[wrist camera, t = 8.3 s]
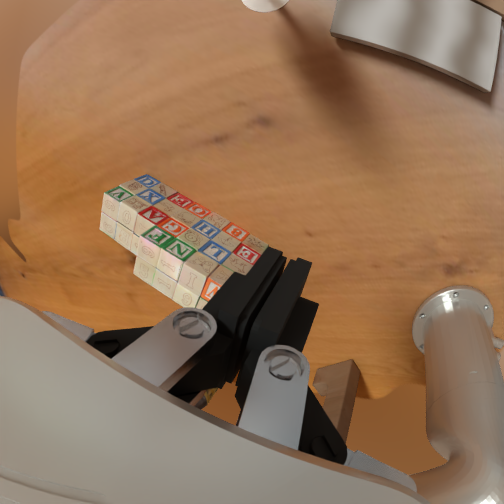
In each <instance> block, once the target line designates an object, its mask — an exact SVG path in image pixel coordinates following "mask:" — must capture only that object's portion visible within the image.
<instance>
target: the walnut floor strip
mask: <svg viewBox="0 0 504 504" xmlns="http://www.w3.org/2000/svg"><path fill="white" fill-rule="evenodd" d="M470 1H472V2H474V3H477V4H479V5H481V6H483V7H485V8H487V9H488V10H490V11H492V12H494V13H496V14H498V15H500V16H501V17H502V18H501V20H502V21H504V0H470Z"/></svg>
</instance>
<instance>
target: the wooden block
mask: <svg viewBox="0 0 504 504" xmlns="http://www.w3.org/2000/svg"><path fill="white" fill-rule="evenodd" d="M359 375H360V371H359V369H358V368H357V366H356V364H355V363H354V361H353V360H352V359H350V360H347V361H344V362H341V363H337V364H334V365H330V366H327V367H323V368H319V369H317V372H316V375H315V378H314V381H313V386H314V387H315V389H316V390H317V391H318V392H319V394H320V395H321V396H326V399H325V402H324V406H323V409H324V411H325V412H326V414H327V415H328V417H329V419H330V420H331V422H332V423H333V425H334V426H335V428H336V429H337V431H338V432H339V434H340V435H341V437H342V438H343V440H344V442H345V444H346V439H347V435H348V430H349V426H350V421H351V417H352V412H353V407H354V402H355V397H356V392H357V386H358V381H359Z"/></svg>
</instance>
